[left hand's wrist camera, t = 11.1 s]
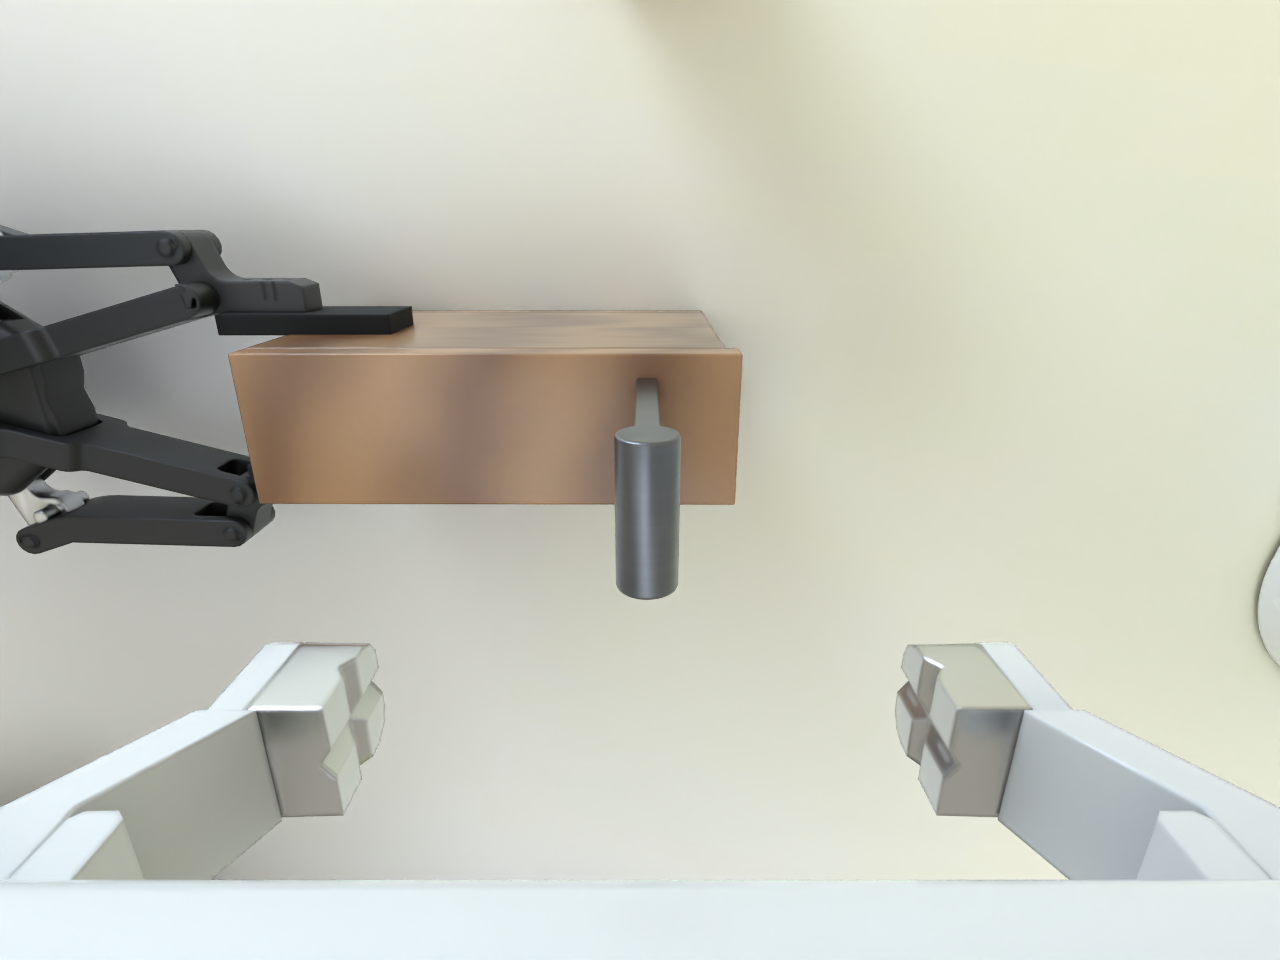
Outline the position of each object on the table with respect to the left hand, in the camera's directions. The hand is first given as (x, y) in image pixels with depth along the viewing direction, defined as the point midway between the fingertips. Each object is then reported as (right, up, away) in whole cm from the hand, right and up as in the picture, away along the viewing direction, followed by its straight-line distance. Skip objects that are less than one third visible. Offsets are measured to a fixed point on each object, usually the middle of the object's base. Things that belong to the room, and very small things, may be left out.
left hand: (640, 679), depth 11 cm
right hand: (-9, +7, +17) cm, 21 cm away
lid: (-5, +5, +13) cm, 15 cm away
